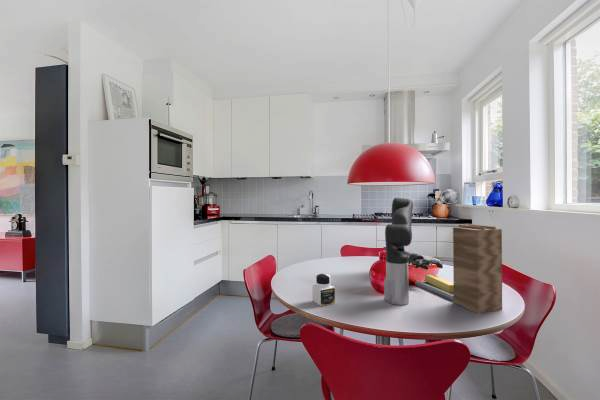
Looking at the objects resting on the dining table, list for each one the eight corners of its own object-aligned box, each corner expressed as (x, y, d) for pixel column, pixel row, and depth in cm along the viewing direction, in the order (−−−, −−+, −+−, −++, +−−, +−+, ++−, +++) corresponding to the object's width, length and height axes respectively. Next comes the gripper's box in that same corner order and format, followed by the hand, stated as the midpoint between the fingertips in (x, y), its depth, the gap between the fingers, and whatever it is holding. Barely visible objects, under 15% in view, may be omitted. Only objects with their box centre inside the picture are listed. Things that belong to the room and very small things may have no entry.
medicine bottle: (320, 306, 119) (320, 277, 119) (312, 301, 125) (312, 273, 125) (335, 303, 122) (334, 275, 122) (326, 298, 128) (325, 271, 128)
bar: (449, 293, 130) (449, 285, 130) (419, 278, 149) (419, 271, 149) (455, 292, 131) (456, 284, 131) (425, 278, 150) (425, 271, 150)
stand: (478, 313, 110) (477, 227, 110) (453, 302, 122) (453, 225, 122) (502, 309, 114) (501, 226, 113) (476, 299, 125) (475, 224, 125)
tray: (452, 301, 123) (452, 295, 123) (415, 284, 147) (415, 280, 147) (473, 298, 126) (473, 293, 126) (433, 282, 150) (433, 278, 150)
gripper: (402, 254, 155) (422, 260, 139) (424, 252, 158) (446, 258, 143) (402, 268, 155) (422, 275, 139) (424, 266, 158) (447, 273, 143)
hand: (434, 267), depth 141 cm, fingers open, 8 cm apart
